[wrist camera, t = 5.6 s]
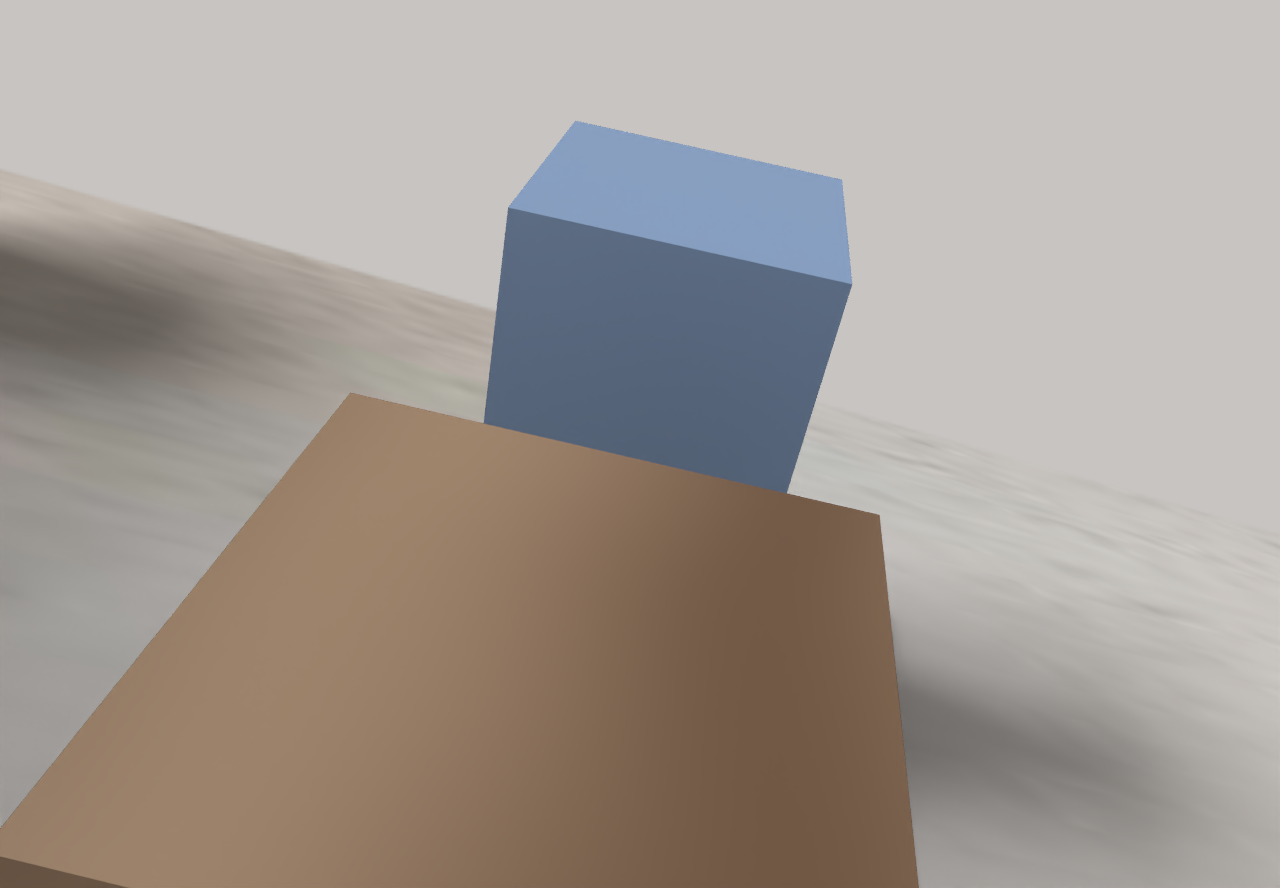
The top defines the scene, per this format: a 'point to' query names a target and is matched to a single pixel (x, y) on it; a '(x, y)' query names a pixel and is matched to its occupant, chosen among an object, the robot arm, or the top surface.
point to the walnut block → (498, 686)
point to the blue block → (669, 304)
